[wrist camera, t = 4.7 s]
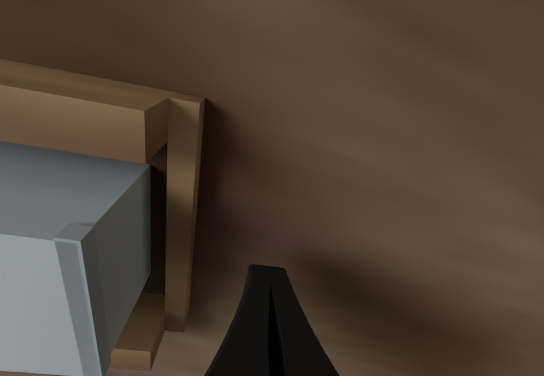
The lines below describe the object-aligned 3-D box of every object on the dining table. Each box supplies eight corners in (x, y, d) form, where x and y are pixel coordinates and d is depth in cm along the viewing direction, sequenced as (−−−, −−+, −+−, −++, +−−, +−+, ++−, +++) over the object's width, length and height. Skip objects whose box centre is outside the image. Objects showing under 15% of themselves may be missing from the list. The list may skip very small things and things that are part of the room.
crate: (153, 272, 14) (102, 379, 9) (21, 256, 13) (-103, 364, 9) (153, 161, 11) (80, 241, 7) (-16, 133, 10) (-229, 201, 6)
